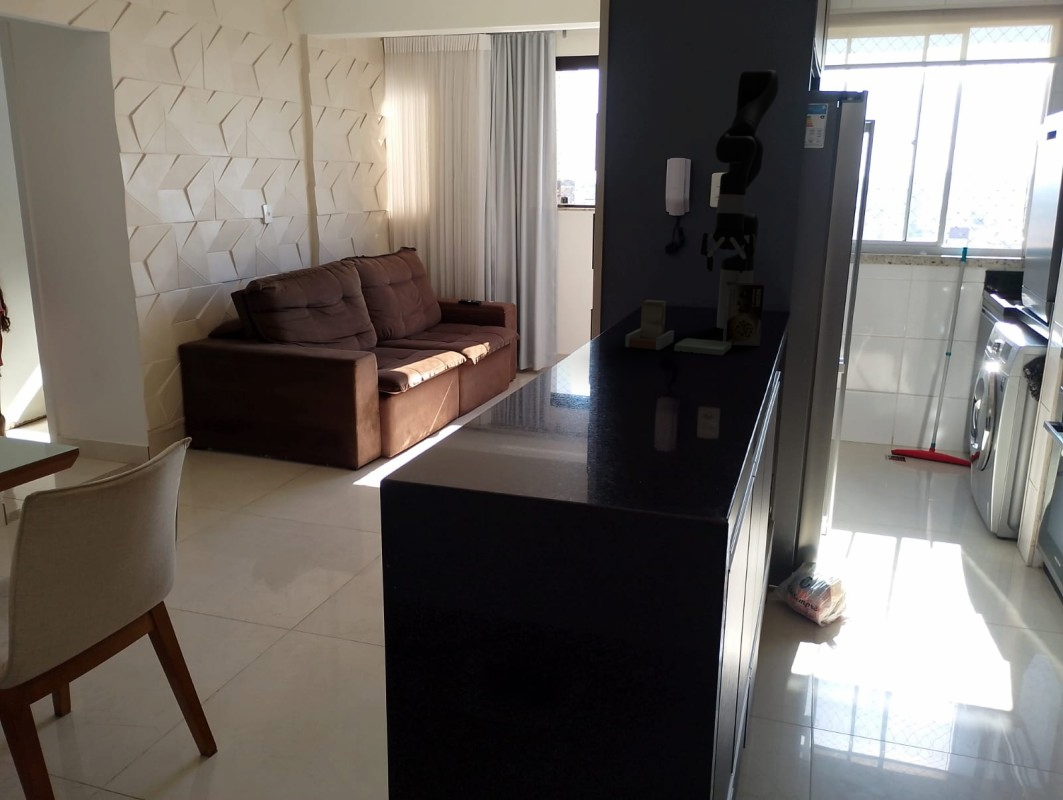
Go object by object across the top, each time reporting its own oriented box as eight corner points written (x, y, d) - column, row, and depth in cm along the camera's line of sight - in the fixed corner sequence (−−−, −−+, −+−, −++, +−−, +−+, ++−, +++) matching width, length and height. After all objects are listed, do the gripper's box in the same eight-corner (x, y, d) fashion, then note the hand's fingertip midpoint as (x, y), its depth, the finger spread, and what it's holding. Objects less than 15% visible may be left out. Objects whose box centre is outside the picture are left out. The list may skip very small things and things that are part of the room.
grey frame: (640, 338, 233) (641, 327, 232) (673, 341, 229) (673, 330, 229) (625, 346, 220) (625, 335, 219) (659, 350, 217) (660, 338, 216)
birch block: (645, 341, 230) (647, 299, 227) (663, 342, 228) (666, 301, 225) (639, 343, 225) (642, 301, 223) (658, 345, 223) (661, 303, 221)
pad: (685, 343, 227) (685, 338, 227) (731, 347, 222) (731, 342, 222) (674, 350, 216) (674, 345, 216) (722, 355, 212) (722, 349, 211)
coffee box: (756, 342, 232) (761, 282, 228) (760, 346, 226) (765, 284, 222) (721, 341, 233) (726, 280, 229) (724, 345, 227) (729, 283, 223)
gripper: (759, 213, 237) (753, 273, 240) (707, 211, 241) (702, 270, 245) (755, 212, 230) (750, 274, 233) (702, 211, 235) (697, 271, 238)
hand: (725, 272), depth 239 cm, fingers open, 8 cm apart
